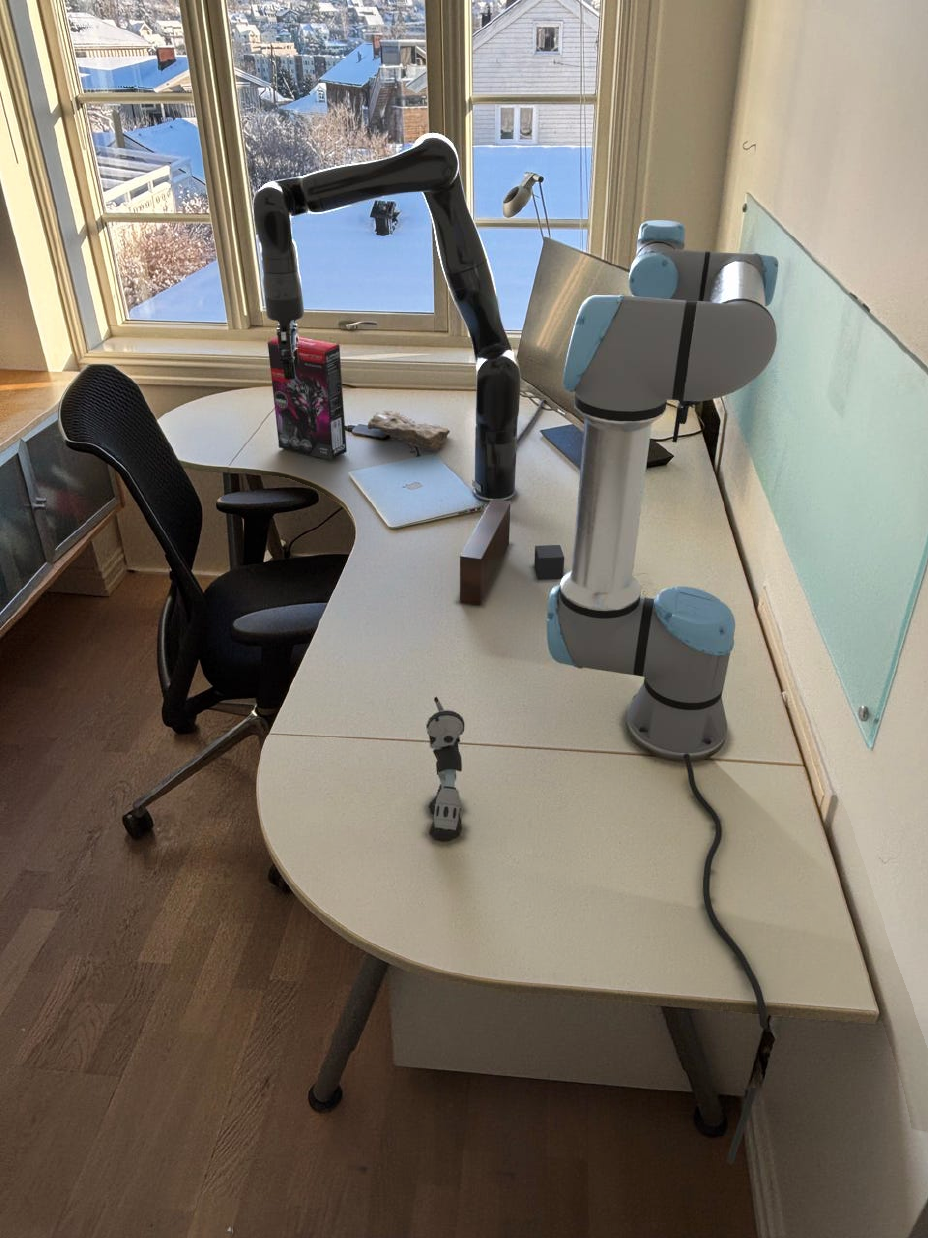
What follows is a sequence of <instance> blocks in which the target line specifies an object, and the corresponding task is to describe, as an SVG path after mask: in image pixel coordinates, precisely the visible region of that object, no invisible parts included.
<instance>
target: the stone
mask: <svg viewBox="0 0 928 1238" xmlns="http://www.w3.org/2000/svg"><path fill="white" fill-rule="evenodd" d="M367 429H369V430H378V431H380V433H381V434H383V435H386V436H389V437H390V440H392V441H401V442H403V443H405V444H409V445H411V446H414V447H419V448H422V447H423V448H425V449H428V450H430V451H437V450H439V448H440V447H441V444H442V443H443V441H444V440H445V439H446V438H448V435H449V434H450V431H451V430H450V429H449V428H447V427H444V426H441V425H438V424H429V423H425V422H419V421H415V420H412V418H408V417H406V416H404V415H403V414H401V413H400V412H397V411H393V410H384V411H376V412H375V413H374V414H373V415H372V416H371V417H370V419H369V421H368V422H367Z"/></svg>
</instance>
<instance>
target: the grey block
mask: <svg viewBox="0 0 928 1238" xmlns="http://www.w3.org/2000/svg"><path fill="white" fill-rule="evenodd" d="M562 549H563V548H562V546H561V544H547V545H546V544H544V545H541V544H540V545H534V560H533V569H534V572H535V576H536V580H537V581H556V580H562V578H563V577H564V569H565V554H564V551H563V550H562Z"/></svg>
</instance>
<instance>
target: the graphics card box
mask: <svg viewBox="0 0 928 1238" xmlns="http://www.w3.org/2000/svg"><path fill="white" fill-rule="evenodd" d="M298 338H299V340H298V347H296V348H297V351H298V360H299V364H298V366H294V368H295V379H294V380H286V379H285V378H284V370H283V362H281V361H280V359H279V357H280V354H279V348H278V336H277V335H276V336H274V337H273V338H271V339H270V340H268V341H267V351H268V359H269V367H270V369H269V370H270V377H271V378H270V379H271V385H272V386H271V387H272V395H273V403H274V412H275V413H274V414H275V423H276V433H277V441H278V442H277V443H278V448H279V449H283V450H287V451H288V450H289V451H292V452H297V453H301V454H305V455H309V456H314V457H317V458H322V459H326V460H330V461H333V460H335V459H337V458H339V457H340V456H342V455H344V454H345V453H347V451H348V449H347V447H348V446H347V434H346V420H345V407H344V406H345V405H344V393H343V380H342V364H341V363H342V362H341V349H340V347H341V346H340V343H335V342H333V343H332V342H328V341H322V340H317V339H311V338H306V337H300V336H298ZM284 355H287V351H285V352H284Z"/></svg>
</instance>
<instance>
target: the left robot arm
mask: <svg viewBox="0 0 928 1238" xmlns="http://www.w3.org/2000/svg"><path fill="white" fill-rule="evenodd" d="M459 164H460V163H459V156H458V152H457V150H456V146H454V144H453V143H452V142H451V140H449V139H448V138H447V137H445V136H444V135H442V134H439V133H434V132H432V133H431V132H430V133H426V134H424V135H422V136H421V137H419V138H418V139H417V140H416V141H415V143H414V144H413V146H412V147H411V148H409V149H407V150H405V151H402V152H400V153H397V154H394V155H392V156H389V157H386V158H382V159H378V160H373V161H367V162H360V163H353V164H345V165H340V166H335V167H331V168H326V169H323V170H319V171H315V172H312V173H309V174H306V175H303V176H296V177H288V178H282V179H278V180H273V181H270V182H267V183H265V184H264V185H262V187H260V189H259V190H258V191H257V192H256V193H255V195H254V197H253V200H252V213H253V220H254V225H255V229H256V230H255V231H256V234H257V238H258V241H259V246H260V257H261V258H260V259H261V267H262V268H261V269H262V287H263V295H264V303H265V311H266V316H267V318H268V319H269V320H271V321H276V322H278V325H277V328H276V336H278V348H279V354H280V357H279V359H280V361H281V362H283V370H284V378H285V379H286V380H294V379H295V368H294V366H298V364H299V360H298V351H297V348H296V347H298V340H299V338H298V337H299V326H298V324H297V320H301V319H302V318H303V317H304V316H305V305H304V296H303V285H302V278H301V275H300V269H299V260H298V259H299V258H298V249H297V245H296V242H295V241H294V239H293V230H292V219H291V218H295V217H298V216H302V215H305V214H310V213H311V214H313V215H314V214H315V215H317V214H324V213H329V212H331V211H336V210H339V209H342V208H346V207H351V206H354V205H358V204H360V203H364V202H368V201H372V200H375V199H380V198H384V197H389V196H396V195H400V194H402V195H403V194H409V193H422V195H423V197H424V199H425V203H426V205H427V207H428V209H429V213H430V216H431V219H432V225H433V229H434V235H435V241H436V247H437V252H438V257H439V259H440V260H439V261H440V265H441V269H442V272H443V275H444V278H445V281H446V285H447V288H448V291H449V293H450V296H451V298H452V300H453V303H454V305H455V307H456V310H457V311H458V313H459V315H460V317H461V319H462V321H463V322H464V324H465V327H466V329H467V331H468V336H469V338H470V342H471V346H472V352H473V356H474V361H475V373H476V374H475V375H476V377H475V378H476V379H475V380H476V382H475V383H476V385H475V386H476V391H475V392H476V393H475V427H474V429H475V431H474V433H475V434H474V435H475V436H474V479H472V481H471V486H472V487H473V496H474V497H475V498H476V499H477V500H478V501H480V502H483V503H488V504H489V503H490V502H491V500H492V499H493V500H500V501H508V502H511V501H512V500H513V499H514V498H515V497H516V476H517V475H516V473H517V472H516V471H517V451H518V449H517V447H518V444H519V442H520V441H521V439H522V438H523V436H524V435H525V433H526V432H527V431H528V429H529V428H530V427H531V425H532V424H533V422H534V421H535V419H536V417H537V416H538V414H539V412H540V411H541V409H542V407H543V405H544V402H545V400H543V399H542V398H541V401H540V403H539V404H538V407H537V409H536V411H535V413H534V414H533V416H532V417H531V418H530V419H529V421H528V423H527V424H526V426H525V427H524V428H523V430H522V431H521V433H520V434H519V435H518V424H519V416H520V415H519V414H520V400H521V381H522V380H521V379H522V378H521V376H522V375H521V369H520V364H519V360H518V358H517V355H516V353H515V351H514V349H513V346H512V345H511V342H510V340H509V337H508V334H507V332H506V329H505V327H504V324H503V321H502V317H501V312H500V308H499V307H500V305H499V298H498V294H497V289H496V283H495V280H494V279H495V278H494V276H493V275H494V274H493V272H492V269H491V265H490V261H489V259H488V254H487V252H486V249H485V246H484V244H483V241H482V238H481V235H480V233H479V230H478V229H477V226H476V223H475V221H474V219H473V216H472V214H471V212H470V209H469V207H468V204H467V199H466V197H465V192H464V186H463V182H462V178H461V173H460V165H459ZM285 351H287V355H284V352H285Z"/></svg>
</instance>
